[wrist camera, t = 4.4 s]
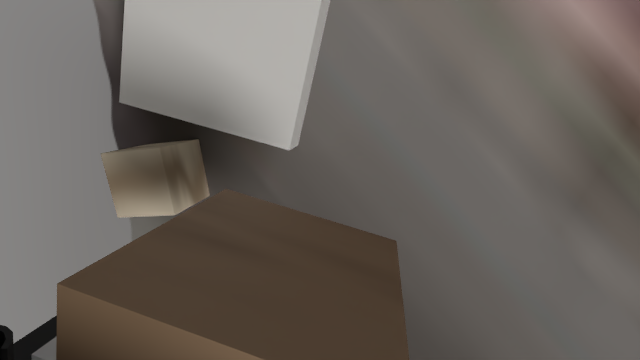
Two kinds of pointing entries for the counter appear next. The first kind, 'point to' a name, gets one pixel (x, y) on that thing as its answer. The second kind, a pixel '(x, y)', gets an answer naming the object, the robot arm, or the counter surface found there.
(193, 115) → the tile
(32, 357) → the robot arm
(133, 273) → the walnut cube
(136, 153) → the maple block
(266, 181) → the counter surface
